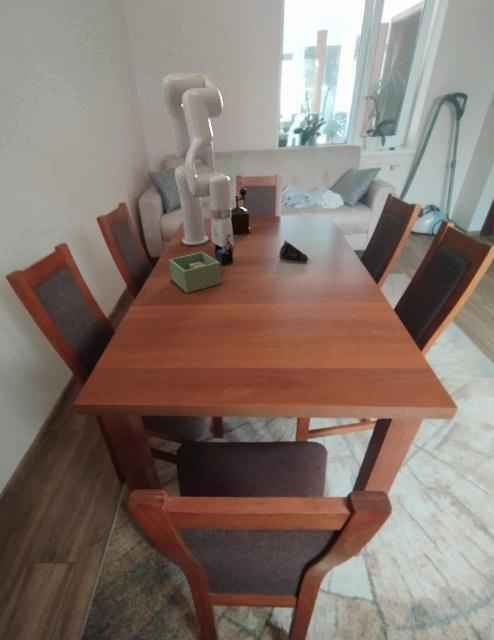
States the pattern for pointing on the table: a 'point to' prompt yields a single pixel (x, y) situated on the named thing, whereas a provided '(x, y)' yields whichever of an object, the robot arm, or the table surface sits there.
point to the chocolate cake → (292, 254)
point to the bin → (195, 272)
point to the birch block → (196, 265)
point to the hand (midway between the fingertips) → (224, 259)
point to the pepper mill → (240, 216)
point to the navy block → (221, 256)
